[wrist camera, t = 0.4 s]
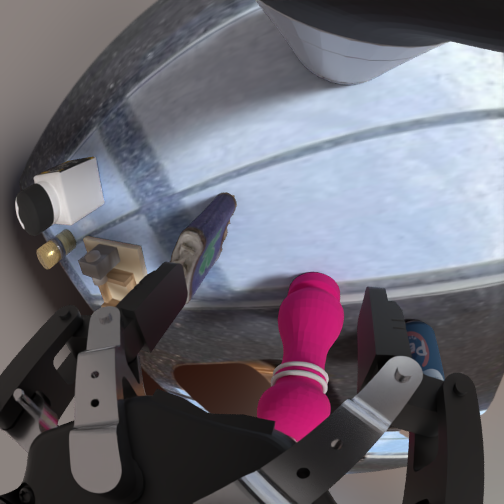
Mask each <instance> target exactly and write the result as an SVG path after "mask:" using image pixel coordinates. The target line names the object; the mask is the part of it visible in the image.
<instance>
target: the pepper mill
mask: <svg viewBox="0 0 504 504" xmlns="http://www.w3.org/2000/svg"><path fill="white" fill-rule="evenodd" d="M343 319H344V313H343V308H342V306H341V304H340V290H339V287H338V285H337V283H336V282H335V281H334V280H333V279H332V278H331V277H329V276H327V275H325V274H322V273H316V272H311V273H305V274H303V275H300V276H298V277H297V278H295V279H294V280H293V282H292V283H291V285H290V288H289V292H288V295H287V297H286V298H285V299H284V300H283V302H282V304H281V306H280V309H279V314H278V327H279V332H280V336H281V339H282V342H283V349H284V355H283V360H282V363H281V365H279V366H277V367H276V368H275V370H274V372H273V378H272V379H271V387H270V388H269V389H267V390H266V391H265V392H264V393H263V394H262V396H261V398H260V400H259V403H258V407H257V416H258V418H262V419H267V420H273V421H275V429H276V430H278V431H281V432H282V433H284V434H286V435H288V436H289V437H290V438H292V439H293V440H294V441H295V442H296V441H300V440H301V439H302V438H303V437H305V436H306V435H307V434H308V433H310V432H311V431H312V430H313V429H314V428H316V427H317V426H318V425H319V424H320V423H322V422H323V421H324V420H325V419H326V418H327V417H328V416H329V415H330V403H329V400H328V398H327V396H326V395H325V393H326V391H327V383H328V375H327V373H326V372H325V371H324V369H325V361H326V356H327V353H328V351H329V349H330V347H331V346H332V345H333V343H334V342H335V341H336V339H337V338H338V336H339V334H340V332H341V329H342V326H343Z"/></svg>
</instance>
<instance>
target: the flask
mask: <svg viewBox="0 0 504 504" xmlns="http://www.w3.org/2000/svg"><path fill="white" fill-rule="evenodd" d="M236 206H237V204H236V201H235V198H234V195H233V196H232V195H231V194H229V193H221V194H219V195H218V196H217V197H216V198H215V200H214V201H213V202H212V203H211V204H210V205H209V206H208V207H207V208H206V209H205V210H204V211H203V212H202V213H201V214H200V215H199V216H198V217H197V218H196V219H195V220H194V221H193V222H192V223H191V224H190V225H189V226H188V227H187V228H186V229H185V230H184V231H182V233H181V234H180V236H179V239H178V241H177V243H176V246H175V248H174V250H173V253H172V256H171V261H170V262H172V263H179V264H181V265H182V266H183V270H184V275H185V280H186V285H187V290H188V298H187V301H186V304H188V303H189V301H190V300H191V299H192V297H193V295H194V294H195V292H196V290H197V289H198V287H199V286H200V284H201V283H202V281H203V279H204V278H205V276H206V275H207V273H208V272H209V270H210V269H211V268H212V266H213V265H214V263H215V262H216V261H217V260H218V258H219V256H220V253H221V251H222V244H223V242H224V240H225V238H226V236H227V233H228V232H227V226H228V224H230V218H231V216H232V215H233V213H234V211H235V209H236Z"/></svg>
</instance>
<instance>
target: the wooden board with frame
mask: <svg viewBox="0 0 504 504" xmlns="http://www.w3.org/2000/svg"><path fill="white" fill-rule="evenodd" d="M83 240H84V244H85V247H86V250H87V254H86V255H85V256H83V257H82V258H81V259H80V260H79V261H78V262H79V265H80V268H81V270H82V273H83V275H86V276H89V277H92V279H93V282H94V284H95V285H97V286H98V287H99V289H100V292H101V295H102V297H103V300H104V303H103V304H102V305H101V306H102V307H106V306H113V307H115V306H116V305H117V304H118V303H119V302H120V301H121V300H122V299H123V298H124V297H125V296H126V295H127V294H128V293H129V292H130V291H131V290H132V289H134V287H135V286H136V285H137V284H139V282H140V281H141V280H142V279H143V278H144V277H145V276H146V275H148V274H147V270H146V266H145V262H144V257H143V253H142V248H141V246H138V245H132V244H127V243H122V242H116V241H111V240H106V239H101V238H95V237H90V236H86V237H85V238H83Z"/></svg>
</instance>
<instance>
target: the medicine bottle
mask: <svg viewBox="0 0 504 504" xmlns="http://www.w3.org/2000/svg"><path fill="white" fill-rule="evenodd" d="M34 182H35V184H33V185H31V186H29V187H28V188H26V189H24V190H22V191H20V192H19V193H18V194H17V197H16V202H15V204H16V213H17V217H18V219H19V222H20V224H21V225H22V227H23V228H24V230H25V231H26V232H27V233H28V234H30V235H32V236H37V235H38V234H40V233H41V232H43V231H44V230H46V229H47V228H49V227H50V226H52V225H53V224H63V225H73V224H74V223H76V222H77V221H79V220H80V219H82V218H83V217H85V216H86V215H88V214H89V213H91V212H93V211H94V210H96V209H97V208H99V207H100V206H102V205H104V203H105V201H104V197H103V192H102V187H101V182H100V177H99V171H98V166H97V160H96V157H88V158H82V159H76V160H71V161H67V162H64V163H62V164H60V165H57V166H55V167H53V168H51V169H49V170H46V171H44V172H42V173H40V174H38V175H36V176H35V177H34Z"/></svg>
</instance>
